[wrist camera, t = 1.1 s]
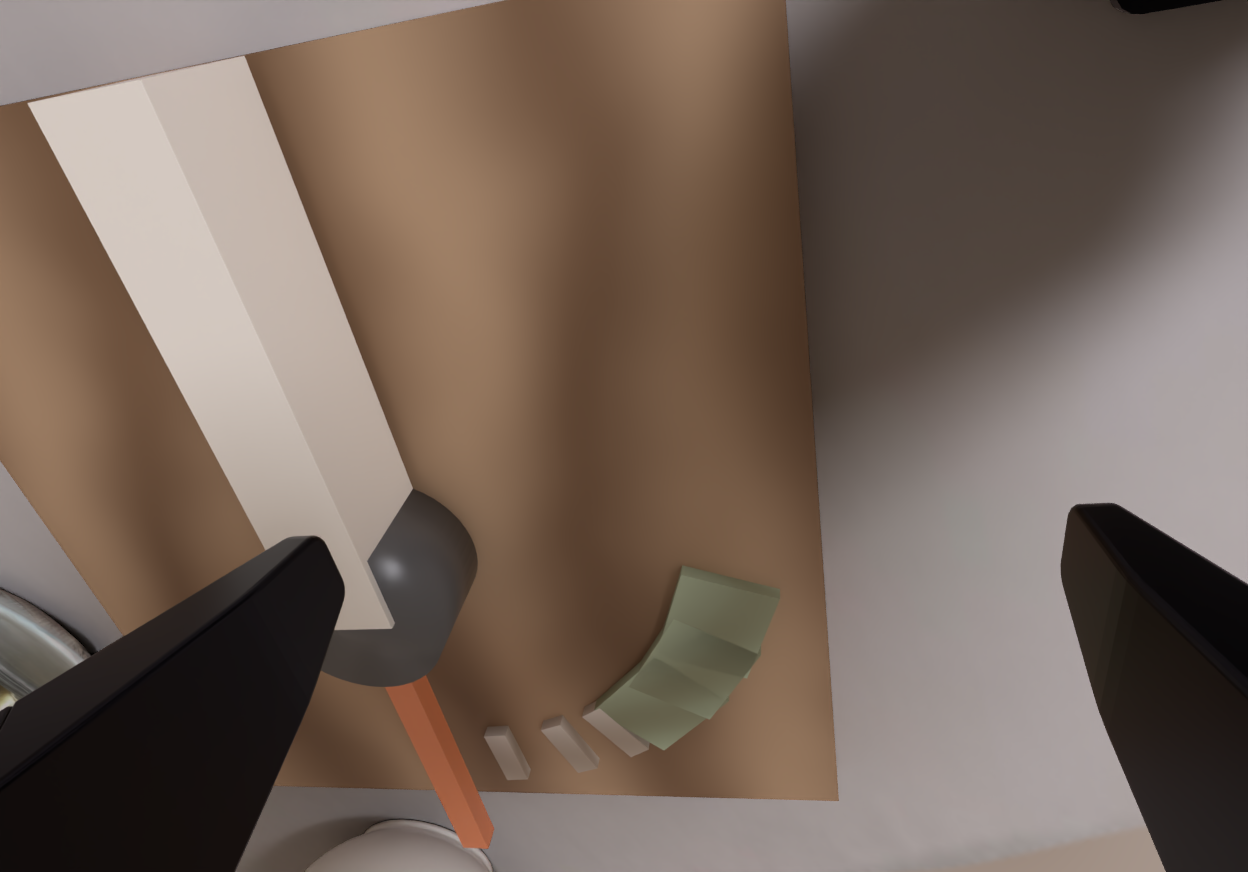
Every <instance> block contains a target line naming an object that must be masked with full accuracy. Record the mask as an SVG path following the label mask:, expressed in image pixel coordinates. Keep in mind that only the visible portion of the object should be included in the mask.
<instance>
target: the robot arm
mask: <svg viewBox="0 0 1248 872" xmlns="http://www.w3.org/2000/svg"><path fill="white" fill-rule="evenodd" d="M1215 1H1221V0H1110V2H1111V3H1112V5H1113V7H1114V8H1116V9H1118V10H1120V11H1122V12H1125V13H1130V14H1145V13H1151V12H1157V11H1163V10H1169V9H1174V8H1180V7H1186V6H1192V5H1198V4H1203V3H1209V2H1215ZM1061 578H1062V584H1063V588H1064V591H1065V595H1066V599H1067V602H1068V606H1069V609H1070V613H1071V616H1072V620H1073V623H1074V627H1075V630H1076V634H1077V637H1078V641H1079V644H1080V648H1081V652H1082V655H1083V659H1084V662H1085V666H1086V669H1087V673H1088V676H1089V680H1090V683H1091V687H1092V690H1093V694H1094V697H1095V700H1096V703H1097V707H1098V710H1099V713H1100V715H1101V718H1102V721H1103V723H1104V726H1105V728H1106V731H1107V734H1108V736H1109V738H1110V741H1111V743H1112V745H1113V748H1114V750H1115V752H1116V755H1117V757H1118V760H1119V762H1120V764H1121V767H1122V769H1123V771H1124V774H1125V776H1126V779H1127V781H1128V783H1129V786H1130V788H1131V790H1132V793H1133V795H1134V797H1135V800H1136V802H1137V805H1138V807H1139V809H1140V812H1141V814H1142V816H1143V819H1144V821H1145V824H1146V826H1147V828H1148V831H1149V833H1150V835H1151V838H1152V840H1153V842H1154V845H1155V847H1156V850H1157V852H1158V854H1159V857H1160V859H1161V861H1162V864H1163V866H1164V869H1165V871H1166V872H1248V584H1247V583H1245V582H1244V581H1242V580H1240V579H1239V578H1237V577H1236V576H1234V575H1232V574H1231V573H1229V572H1227V571H1226V570H1224V569H1222V568H1221V567H1219V566H1218V565H1216V564H1214V563H1213V562H1211V561H1209V560H1208V559H1206V558H1205V557H1203V556H1201V555H1200V554H1198V553H1196V552H1195V551H1193V550H1191V549H1190V548H1188V547H1187V546H1185V545H1183V544H1182V543H1180V542H1178V541H1177V540H1175V539H1174V538H1172V537H1170V536H1169V535H1167V534H1165V533H1164V532H1162V531H1160V530H1159V529H1157V528H1156V527H1154V526H1152V525H1151V524H1149V523H1147V522H1146V521H1144V520H1143V519H1141V518H1139V517H1138V516H1136V515H1134V514H1133V513H1131V512H1130V511H1128V510H1126V509H1125V508H1123V507H1121V506H1119V505H1117V504H1114V503H1094V504H1077V505H1075V506H1074V507H1072V508H1071V510H1070V512H1069V514H1068V518H1067V525H1066V531H1065V538H1064V545H1063V551H1062V558H1061ZM344 597H345V586H344V581H343V578H342V576H341V574H340V572H339V570H338V568H337V566H336V564H335V562H334V559H333V557H332V555H331V553H330V551H329V549H328V547H327V545H326V543H325V541H324V540H323V539H321V538H320V537H318V536H314V535H310V536H292V537H288V538H286V539H284V540H282V541H280V542H279V543H277V544H275V545H274V546H272V547H271V548H269V549H267V550H266V551H264V552H262V553H261V554H259V555H257V556H256V557H254V558H252V559H251V560H249V561H247V562H246V563H244V564H242V565H241V566H239V567H237V568H236V569H234V570H232V571H231V572H229V573H228V574H226V575H224V576H223V577H221V578H219V579H218V580H216V581H214V582H213V583H211V584H209V585H208V586H206V587H204V588H203V589H201V590H199V591H198V592H196V593H194V594H193V595H191V596H189V597H188V598H186V599H185V600H183V601H181V602H180V603H178V604H176V605H175V606H173V607H171V608H170V609H168V610H166V611H165V612H163V613H161V614H160V615H158V616H156V617H155V618H153V619H151V620H150V621H148V622H146V623H145V624H143V625H142V626H140V627H138V628H137V629H135V630H133V631H132V632H130V633H128V634H127V635H125V636H123V637H122V638H120V639H118V640H117V641H115V642H113V643H112V644H110V645H108V646H107V647H105V648H103V649H102V650H100V651H99V652H97V653H95V654H94V655H92V656H90V657H89V658H87V659H85V660H84V661H82V662H80V663H79V664H77V665H75V666H74V667H72V668H70V669H69V670H67V671H65V672H64V673H62V674H60V675H59V676H57V677H56V678H54V679H52V680H51V681H49V682H47V683H46V684H44V685H42V686H41V687H39V688H37V689H36V690H34V691H32V692H31V693H29V694H27V695H26V696H24V697H22V698H21V699H19V700H17V701H16V702H15V703H14V705H13V707H12V706H8V707H6V708H4V709H2V710H1V711H0V872H235V871H236V869H237V867H238V864H239V862H240V860H241V858H242V855H243V853H244V851H245V848H246V846H247V844H248V842H249V839H250V837H251V835H252V833H253V830H254V828H255V826H256V824H257V821H258V819H259V817H260V815H261V812H262V810H263V808H264V806H265V803H266V801H267V799H268V797H269V794H270V792H271V790H272V788H273V785H274V783H275V781H276V779H277V776H278V774H279V772H280V770H281V767H282V765H283V763H284V761H285V758H286V756H287V754H288V752H289V749H290V747H291V745H292V743H293V740H294V738H295V736H296V734H297V731H298V729H299V727H300V725H301V722H302V720H303V718H304V715H305V713H306V710H307V708H308V706H309V703H310V701H311V698H312V695H313V692H314V689H315V687H316V684H317V681H318V678H319V675H320V672H321V669H322V666H323V662H324V659H325V656H326V653H327V650H328V647H329V644H330V641H331V638H332V635H333V632H334V629H335V626H336V623H337V620H338V617H339V614H340V611H341V608H342V605H343V602H344Z"/></svg>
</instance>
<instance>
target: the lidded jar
mask: <svg viewBox="0 0 1248 872" xmlns="http://www.w3.org/2000/svg"><path fill="white" fill-rule="evenodd" d="M304 872H493V868H492V865H491V863H490V861H489V859H488V858H487V856H486V855H485V854H484V853H483V852H482V850H481V849H480V848H463V846H462V844H461V842H460V840H459V838H458V836H457V834H456V832H454V831H451V830H449V829H447V828H444V827H441V826H438V825H435V824H431V823H427V822H423V821H416V820H405V819H398V820H388V821H383V822H380V823H377V824H375V825H373V826H371V827H370V828H369V829H368V830H366V831H365V833H364V834H363V835H360V836H357V837H355V838H352V839H350V840H348V841H346V842H344V843H342V844H340V845H338V846H336V847H334V848H333V849H331V850H329V851H328V852H327V853H325V854H324V855H323V856H321V857H320V858H318V859H317V860H316V861H315V862H314V863H313V864H312V865H311V866H310V867H309V868H307V869H306V870H305V871H304Z"/></svg>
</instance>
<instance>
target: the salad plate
mask: <svg viewBox="0 0 1248 872" xmlns="http://www.w3.org/2000/svg"><path fill="white" fill-rule="evenodd" d="M90 656H91V655H90V654H89V653H88V652H87V650H86V649H85V648H84V647H83V645H82V644H81V643H80V642H79V641H78V640H77V639H76V638H74V637H73V636H72V635H71V634H70V633H69V632H67V631H66V630H65V629H64V628H63V627H62V626H60V625H59V624H58V623H57V622H56V621H55V620H53V619H52V618H51V617H50V616H48V615H47V614H45V613H44V612H43V611H41V610H40V609H38V608H36V607H35V606H33V605H32V604H30V603H29V602H27V601H25V600H23V599H21V598H19V597H17V596H15V595H12V594H10V593H8V592H6V591H4V590H2V589H0V711H1V710H2V709H4V708H6V707H8V706H12V707H13V705H14V703H15V702H16V701H17V700H19V699H21V698H22V697H24V696H26V695H27V694H29V693H31V692H32V691H34V690H36V689H37V688H39V687H41V686H42V685H44V684H46V683H47V682H49V681H51V680H52V679H54V678H56V677H57V676H59V675H60V674H62V673H64V672H65V671H67V670H69V669H70V668H72V667H74V666H75V665H77V664H79V663H80V662H82V661H84V660H85V659H87V658H89V657H90Z"/></svg>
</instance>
